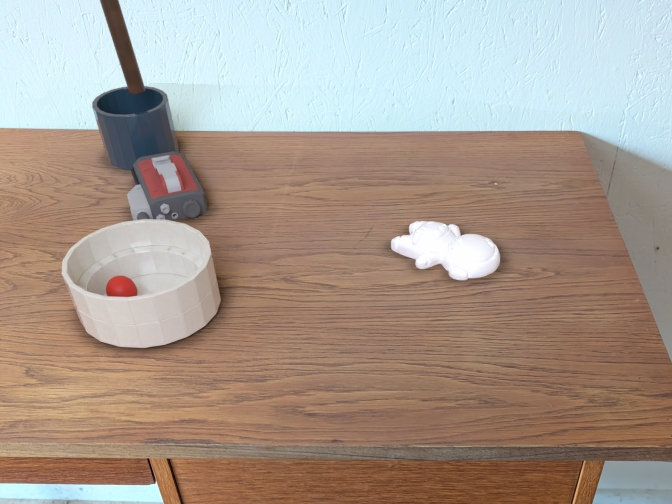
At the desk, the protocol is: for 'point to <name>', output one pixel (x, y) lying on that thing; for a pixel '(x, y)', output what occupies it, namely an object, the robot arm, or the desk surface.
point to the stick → (123, 45)
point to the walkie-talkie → (165, 188)
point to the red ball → (121, 287)
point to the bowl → (143, 282)
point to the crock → (134, 125)
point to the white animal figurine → (448, 249)
